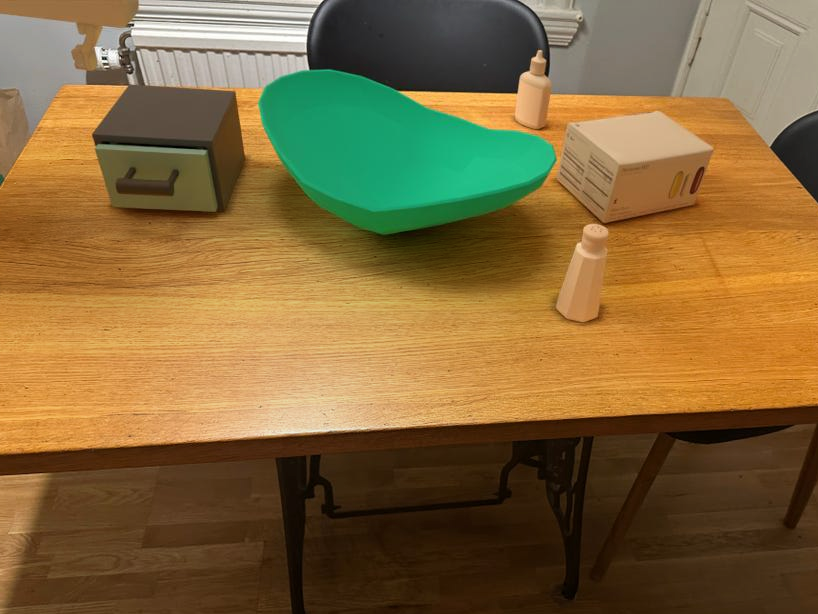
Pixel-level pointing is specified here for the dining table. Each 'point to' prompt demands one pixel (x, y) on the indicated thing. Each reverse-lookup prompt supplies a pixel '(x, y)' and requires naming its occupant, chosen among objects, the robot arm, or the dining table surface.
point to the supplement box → (632, 165)
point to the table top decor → (394, 153)
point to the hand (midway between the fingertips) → (33, 61)
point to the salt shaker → (585, 276)
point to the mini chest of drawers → (181, 127)
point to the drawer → (157, 176)
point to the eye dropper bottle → (533, 95)
